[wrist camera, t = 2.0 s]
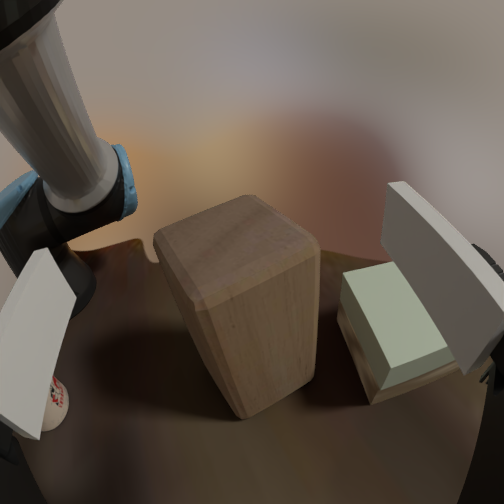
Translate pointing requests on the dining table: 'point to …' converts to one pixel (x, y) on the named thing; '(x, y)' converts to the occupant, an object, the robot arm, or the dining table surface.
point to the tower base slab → (366, 371)
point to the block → (246, 298)
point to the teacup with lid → (55, 405)
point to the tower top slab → (392, 325)
